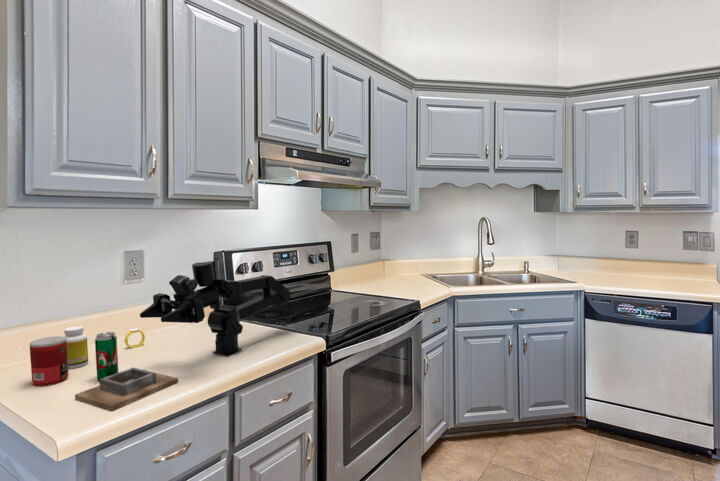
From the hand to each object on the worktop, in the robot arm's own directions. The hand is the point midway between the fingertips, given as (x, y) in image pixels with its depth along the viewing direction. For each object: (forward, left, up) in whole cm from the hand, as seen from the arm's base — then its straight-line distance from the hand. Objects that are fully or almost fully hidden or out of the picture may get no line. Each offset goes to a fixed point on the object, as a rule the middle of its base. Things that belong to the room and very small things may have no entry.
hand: (150, 317), depth 116 cm
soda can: (+5, -12, -17) cm, 21 cm away
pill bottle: (+3, -30, -17) cm, 35 cm away
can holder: (+8, +1, -17) cm, 18 cm away
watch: (-16, -30, -17) cm, 38 cm away
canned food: (+13, -24, -17) cm, 32 cm away
